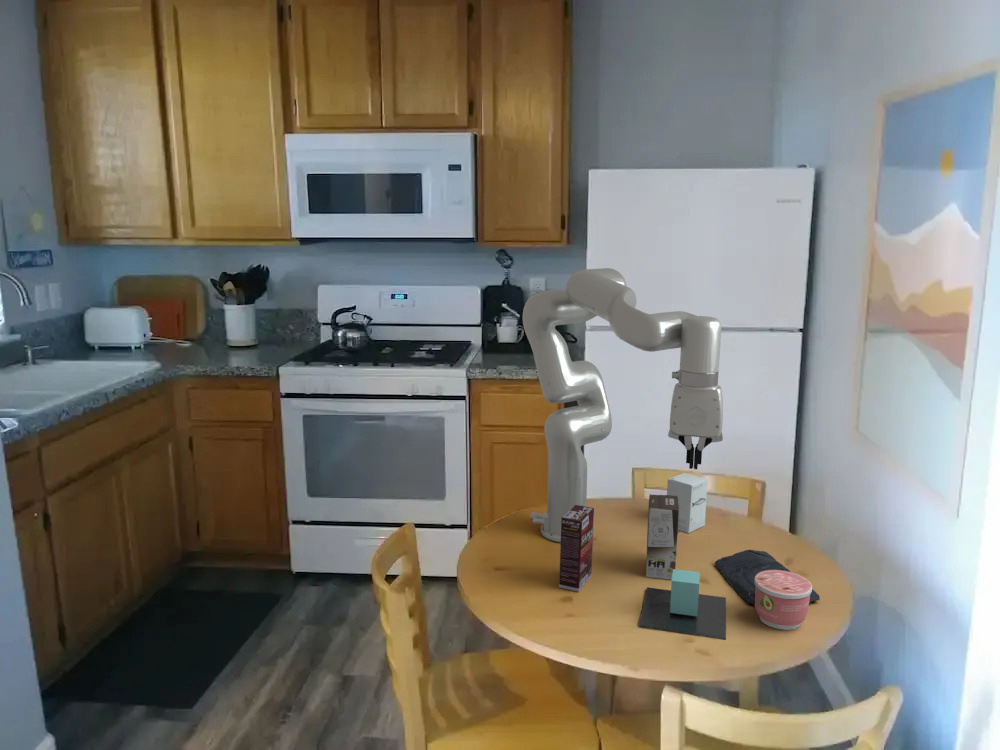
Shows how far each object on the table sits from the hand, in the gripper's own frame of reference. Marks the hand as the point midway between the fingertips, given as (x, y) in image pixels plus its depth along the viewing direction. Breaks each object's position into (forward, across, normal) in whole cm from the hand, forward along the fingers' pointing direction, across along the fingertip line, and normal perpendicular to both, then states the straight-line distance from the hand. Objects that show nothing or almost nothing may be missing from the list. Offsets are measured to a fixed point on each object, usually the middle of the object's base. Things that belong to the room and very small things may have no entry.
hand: (693, 466), depth 160 cm
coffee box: (+27, -6, +8) cm, 29 cm away
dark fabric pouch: (+27, +16, +8) cm, 32 cm away
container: (+27, +18, -8) cm, 34 cm away
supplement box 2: (+27, -2, +35) cm, 44 cm away
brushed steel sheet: (+27, 0, -10) cm, 29 cm away
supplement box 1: (+27, -23, -3) cm, 36 cm away
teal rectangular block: (+26, 0, -10) cm, 28 cm away
